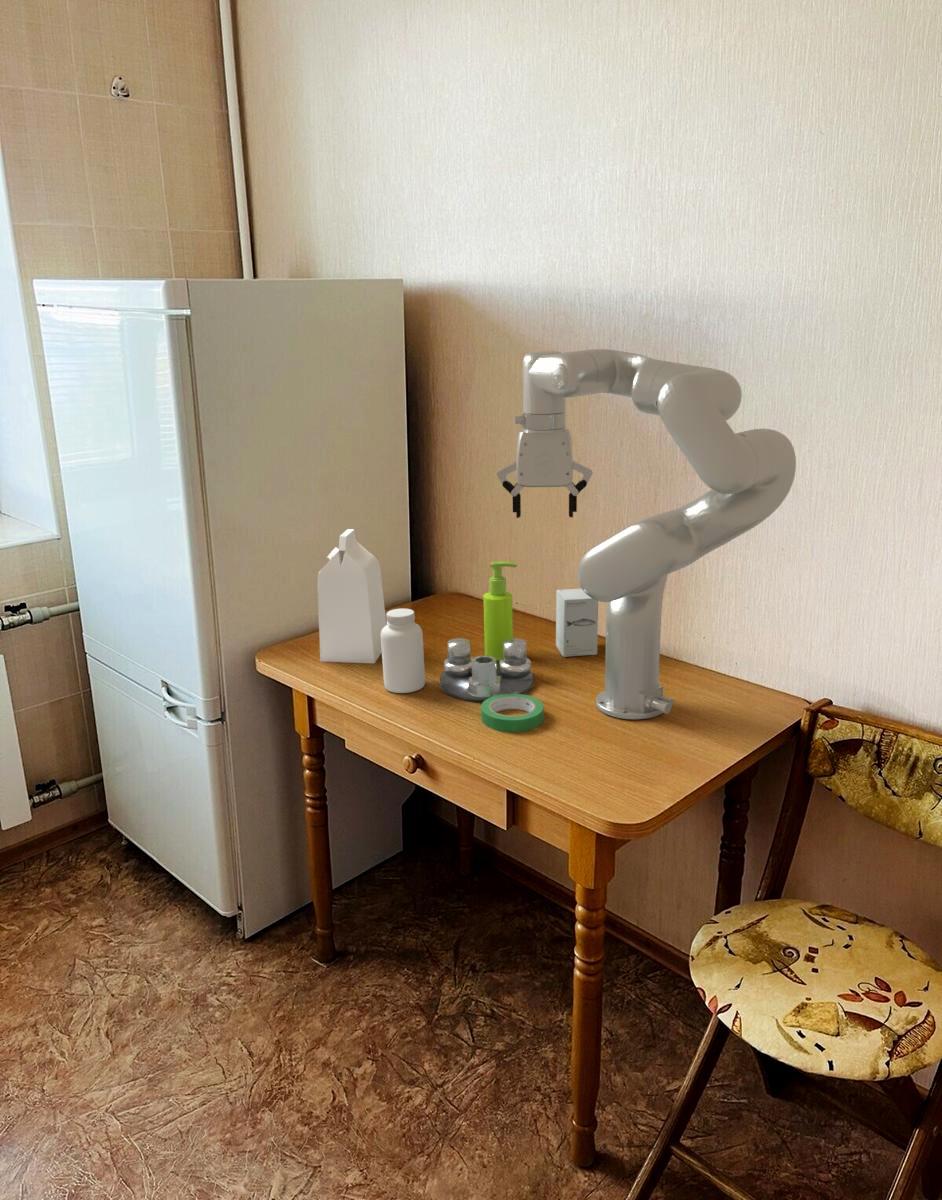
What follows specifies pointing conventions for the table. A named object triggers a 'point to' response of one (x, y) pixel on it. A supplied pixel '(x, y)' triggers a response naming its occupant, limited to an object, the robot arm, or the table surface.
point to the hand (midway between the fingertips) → (544, 516)
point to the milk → (350, 604)
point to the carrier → (509, 669)
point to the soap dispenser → (497, 612)
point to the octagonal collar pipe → (484, 677)
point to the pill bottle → (402, 652)
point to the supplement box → (576, 623)
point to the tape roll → (512, 722)
